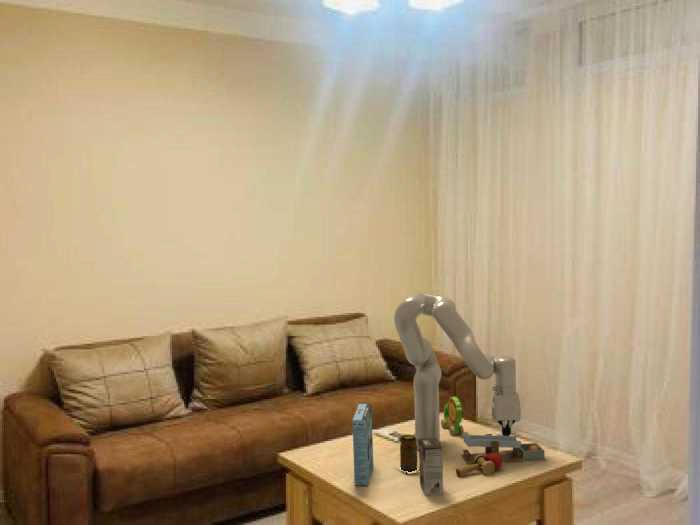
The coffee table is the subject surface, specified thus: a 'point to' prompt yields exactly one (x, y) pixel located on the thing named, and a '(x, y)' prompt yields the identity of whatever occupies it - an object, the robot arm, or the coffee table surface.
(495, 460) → the kendama
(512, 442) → the lever
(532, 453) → the green square tray
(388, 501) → the coffee table surface
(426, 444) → the coffee box
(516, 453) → the stand
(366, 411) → the gum box
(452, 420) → the toy lion
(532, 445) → the ball
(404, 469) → the condiment
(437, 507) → the coffee table surface
